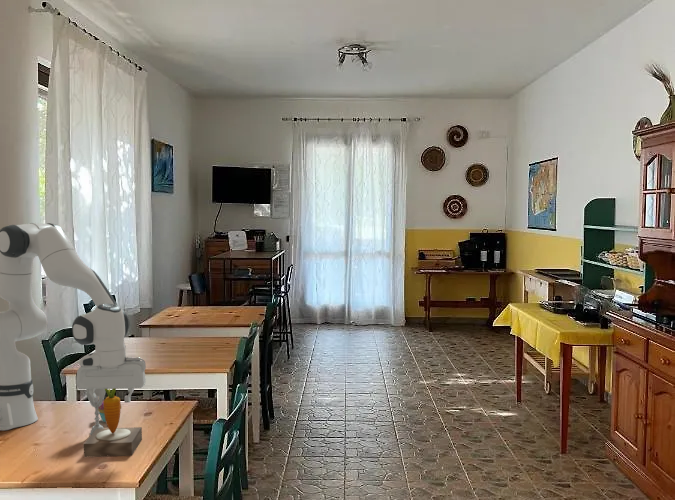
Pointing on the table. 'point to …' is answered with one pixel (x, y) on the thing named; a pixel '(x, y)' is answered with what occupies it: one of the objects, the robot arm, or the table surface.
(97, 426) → the chalice
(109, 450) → the walnut plinth
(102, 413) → the cupcake
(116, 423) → the carrot
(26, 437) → the table surface
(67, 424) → the table surface
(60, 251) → the robot arm
